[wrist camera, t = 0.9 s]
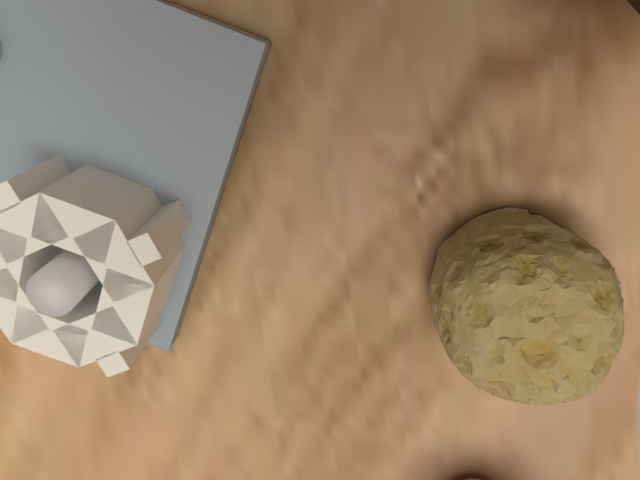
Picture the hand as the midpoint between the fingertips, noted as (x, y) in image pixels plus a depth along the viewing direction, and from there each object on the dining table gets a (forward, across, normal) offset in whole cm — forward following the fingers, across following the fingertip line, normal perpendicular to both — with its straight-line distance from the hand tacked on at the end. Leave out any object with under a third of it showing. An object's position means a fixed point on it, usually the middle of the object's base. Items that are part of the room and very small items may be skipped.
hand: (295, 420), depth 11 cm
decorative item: (+23, +9, -8) cm, 26 cm away
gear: (+21, -14, -5) cm, 26 cm away
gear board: (+22, -16, 0) cm, 28 cm away
